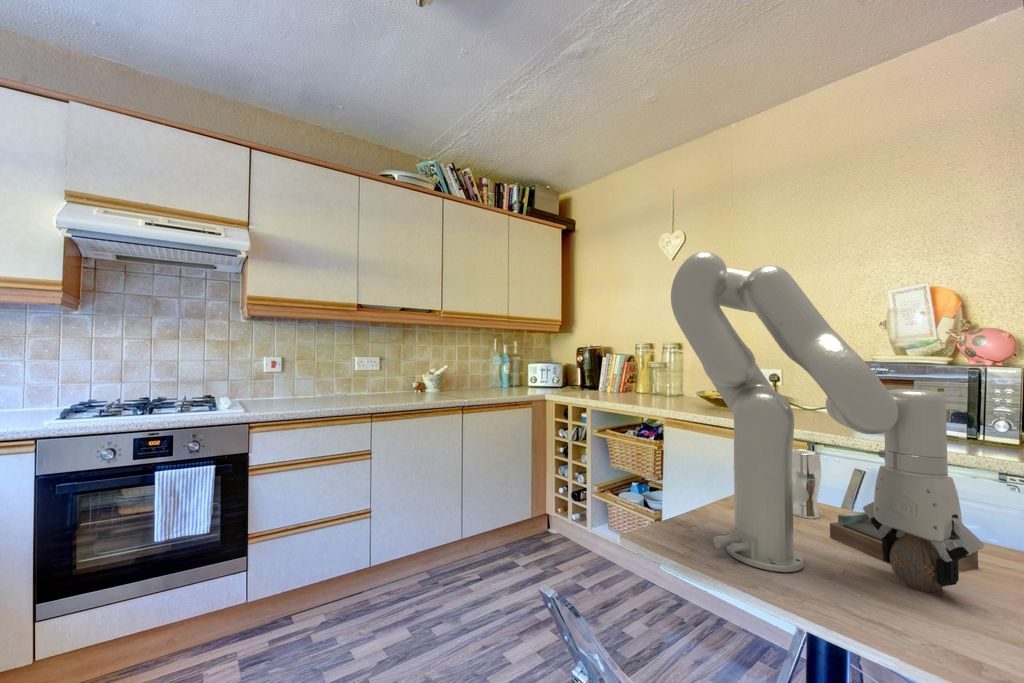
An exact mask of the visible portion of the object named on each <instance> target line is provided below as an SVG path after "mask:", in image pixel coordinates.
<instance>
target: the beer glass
mask: <svg viewBox="0 0 1024 683" xmlns="http://www.w3.org/2000/svg"><path fill="white" fill-rule="evenodd" d="M820 454H821V453H820V452H818V451H814V450H808V449H802V448H793V449H792V476H793V516H795V515H796V516H795V517H798V516H799V518H802V517H803V518H802V519H808V518H809V519H810V520H816V519H819V518H820V512H819V509H818V508H819V506H818V495H819V492H820V487H821V481H822V465H821V455H820Z"/></svg>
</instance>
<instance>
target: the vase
mask: <svg viewBox="0 0 1024 683" xmlns="http://www.w3.org/2000/svg"><path fill="white" fill-rule="evenodd" d="M940 558H941V556H940V554H939V552H938V550H937V548H936V546H935V545H934V544H933V543H932V542H931V541H928V540H925V539H922V538H919V537H916V536H913V535H911V534H908V533H905V534H904V535H903V536H902V537H900V538H899V539H898V540H896V541H895V542H894V544H893V545H892V547H891V550H890V563H889V564H890V567H891V569H892V571H893V573H894V575H895V576H896V578H898V580H899V581H900V582H901V583H903V585H905V586H907V587H909V588H911V589H913V590H916V591H921V592H925V593H935V592H938V591H939V590H941V589H943V588H944V587H945V586H941V585H939V584H938V583H937V559H940Z"/></svg>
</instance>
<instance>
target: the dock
mask: <svg viewBox="0 0 1024 683" xmlns="http://www.w3.org/2000/svg"><path fill="white" fill-rule="evenodd" d="M837 519H838V520H837V522H830V523H829V538H830V539H832V540H834V541H837V542H839V543H842V544H845V545H846V546H848V547H852V548H853V549H855V550H858V551H861V552H863V553H865V554H868V555H871V556H872V557H874V558H877V559H879V560H881V561H884V560H883V552H882V537H881V536H879V534H878V530H877V529H876V528H875V526H874V525H873V524H872V522H871V519H870V518H869V517H868V515H867V514H866V513H865V511H863V512H862V511H861V512H853V513H844V514H843V513H842V514H838V515H837ZM904 534H905V532H902V531H899V532H898V533H897V535H896V537H899V538H900V537H902V536H903V535H904ZM954 541H955V543H956V545H957V547H960V546H961V545H962V544H963V543H964V542H963V540H962V539H960V540H954ZM932 543H933V542H932ZM933 544H934V543H933ZM978 551H979V550H978ZM978 551H976V552H974V553H973V554H972V555H970V556H967V557H965V558H963V559H962V560H958V571H959V572H961V571H968V569H969V570H975V569H974V568H976V569H978V568H979V552H978ZM889 564H890V562H889Z"/></svg>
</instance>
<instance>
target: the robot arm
mask: <svg viewBox="0 0 1024 683" xmlns="http://www.w3.org/2000/svg"><path fill="white" fill-rule="evenodd" d="M670 290H671V291H670V304H671V310H672V313H673V316H674V318H675V321H676V323H677V325H678V326H679V328H680V330H681V331H682V333H683V335H684V336H685V338H686V339H687V341H688V343H689V346H690V347H691V348H692V350H693V351H694V353H695V355H696V357H697V358H698V360H699V361H700V364H701V366H702V368H703V370H704V373H705V375H706V376H707V377H708V378H709V379H710V382H711V384H712V385H713V386H714V388H715V389H716V391H717V393H718V394H719V395H720V397H721V399H722V400H723V402H724V403H725V405H726V407H727V408H728V410H730V412H731V415H733V473H734V474H733V477H734V478H733V479H734V480H733V483H734V484H733V486H734V487H733V488H734V490H733V491H734V492H733V496H734V498H733V500H734V505H733V506H734V510H733V511H734V526H733V527H729V533H727V534H726V535H717V536H714V537H713V538H712V541H713V544H714V546H715V547H716V548H725V550H726V552H727V553H728V554H729V555H730V556H732V557H733V558H734V559H736V560H737V561H739V562H742V563H744V564H746V565H749V566H750V567H755V568H757V569H761V570H766V571H771V572H776V573H792V572H798V571H800V570H801V569H803V568H804V567H805V558H804V556H803V555H802V554H801V553H800V552H799V551H797V550H796V549H794V515H793V476H792V449H794V448H793V447H794V446H793V445H794V435H795V416H794V410H793V409H792V406H791V404H790V402H789V401H788V399H786V397H785V396H784V395H782V393H780V392H778V391H776V390H775V389H774V388H773V386H772V385H771V384H770V382H769V381H768V379H767V377H766V376H765V375H764V373H763V372H762V371H761V369H760V367H759V365H758V364H757V363H756V361H757V360H756V358H755V355H754V353H753V352H752V350H751V349H750V348H749V347H748V346H747V344H746V343H745V341H743V340H742V338H741V337H740V335H739V334H738V333H737V331H736V330H735V328H734V326H732V324H731V321H729V319H728V317H727V316H726V314H725V312H724V311H723V309H722V308H721V307H724V308H728V309H733V310H738V311H743V312H749V313H754V314H755V315H756V316H757V318H758V319H759V321H761V323H762V324H763V325H764V327H765V329H767V331H768V333H769V335H771V337H772V338H773V340H774V341H775V342H776V343H777V345H778V346H779V348H780V350H781V351H782V352H783V353H784V354H785V355H786V356H787V357H788V358H789V359H790V360H791V361H793V362H794V363H796V364H797V365H798V366H800V367H801V368H802V369H803V370H804V371H805V372H807V374H809V376H811V378H812V379H813V380H814V381H815V382H816V384H817V385H818V386H819V387H820V388H821V390H822V391H823V393H824V394H825V395H826V400H825V409H826V411H827V413H828V415H829V416H830V417H831V418H832V419H833V420H834V421H835V422H836V423H838V424H840V425H841V426H844V427H847V428H848V429H852V430H853V431H855V432H858V433H861V434H866V435H877V434H878V435H879V434H883V433H884V450H883V449H880V450H879V451H878V456H879V458H883V459H884V465H880V466H879V468H878V472H877V475H876V479H875V485H874V496H873V502H871V503H868V504H865V505H864V506H863V508H862V509H863V512H865V513H866V514H867V515H868V517H869V518H870V519H871V522H872V524H873V525H874V526H875V528H876V529H877V530H878V534H879V536H881V537H882V552H883V560H882V561H884V562H886V563H889V562H890V550H891V547H892V545H893V544H894V542H895V541H896V540H898V539H899V537H896V535H897V533H898V532H899V531H902V532H905V533H908V534H911V535H913V536H916V537H919V538H922V539H925V540H928V541H931V542H933V543H934V545H935V546H936V548H937V550H938V552H939V554H940V556H941V558H940V559H937V583H938V584H939V585H941V586H944V587H949V586H955V585H957V583H958V582H959V580H960V579H959V578H960V577H959V576H960V574H959V572H960V571H958V560H962V559H963V558H965V557H967V556H970V555H972V554H973V553H974V552H976V551H980V550H981V549H983V548H985V544H984V543H983V541H981V540H980V538H978V537H977V536H976V535H975V534H974V533H973V532H972V531H971V530H970V529H969V528H968V527H967V526H966V525H964V524H963V520H962V519H963V518H962V510H961V504H960V500H959V499H960V498H959V495H958V490H957V488H956V487H957V486H956V484H955V482H954V478H953V477H951V476H949V473H948V472H949V470H948V464H949V463H948V437H947V405H946V399H945V397H944V396H943V394H942V393H940V392H938V391H933V390H928V389H927V390H926V389H913V388H911V389H910V388H908V389H907V388H897V389H896V388H895V389H890V390H889V389H887V387H886V386H885V385H884V384H883V382H882V381H881V380H880V378H879V377H878V376H877V375H876V373H875V372H874V371H873V370H872V368H871V367H870V366H869V365H868V364H867V362H866V361H865V360H864V359H863V358H862V357H861V356H860V355H859V354H858V353H857V352H856V351H855V350H854V349H853V348H852V346H850V345H849V344H848V343H847V342H846V341H845V339H843V338H842V336H840V334H838V333H837V332H836V331H835V330H834V329H833V327H832V326H831V325H830V323H828V321H826V319H825V317H823V315H822V314H821V313H820V312H819V310H818V309H817V307H815V305H814V304H813V303H812V301H811V300H810V298H809V297H808V296H807V295H806V293H805V292H804V291H803V289H802V288H801V287H800V286H799V284H798V283H797V281H796V280H795V279H794V278H793V276H792V274H790V273H789V272H788V271H786V270H785V268H783V267H781V266H778V265H772V264H771V265H770V264H769V265H763V266H759V267H758V268H756V269H754V270H752V271H748V270H747V271H746V270H740V269H735V268H729V267H727V265H726V263H725V261H724V260H723V259H722V258H721V256H719V255H717V254H715V253H713V252H710V251H699V252H696V253H694V254H692V255H689V257H688V258H686V259H685V260H684V261H683V263H682V264H681V265H680V267H679V268H678V270H677V271H676V274H675V276H674V278H673V281H672V284H671V289H670ZM960 539H962V540H963V542H964V543H963V544H962V545H961V546H960V547H957V545H956V543H955V541H954V540H960ZM889 564H890V563H889Z"/></svg>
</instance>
